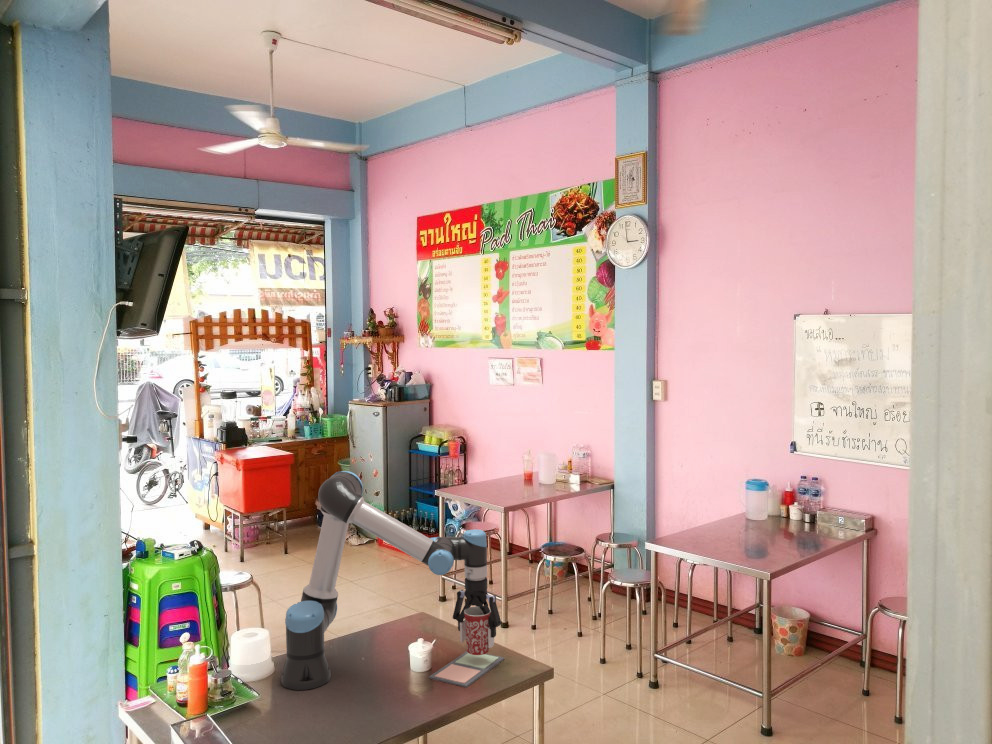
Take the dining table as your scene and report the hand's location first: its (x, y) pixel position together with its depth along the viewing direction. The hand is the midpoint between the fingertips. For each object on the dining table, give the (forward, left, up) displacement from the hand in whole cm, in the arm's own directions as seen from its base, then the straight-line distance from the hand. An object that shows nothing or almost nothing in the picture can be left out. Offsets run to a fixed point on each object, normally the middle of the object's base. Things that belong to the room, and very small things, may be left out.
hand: (477, 643), depth 255 cm
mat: (0, -6, -6) cm, 9 cm away
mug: (0, 0, -2) cm, 2 cm away
